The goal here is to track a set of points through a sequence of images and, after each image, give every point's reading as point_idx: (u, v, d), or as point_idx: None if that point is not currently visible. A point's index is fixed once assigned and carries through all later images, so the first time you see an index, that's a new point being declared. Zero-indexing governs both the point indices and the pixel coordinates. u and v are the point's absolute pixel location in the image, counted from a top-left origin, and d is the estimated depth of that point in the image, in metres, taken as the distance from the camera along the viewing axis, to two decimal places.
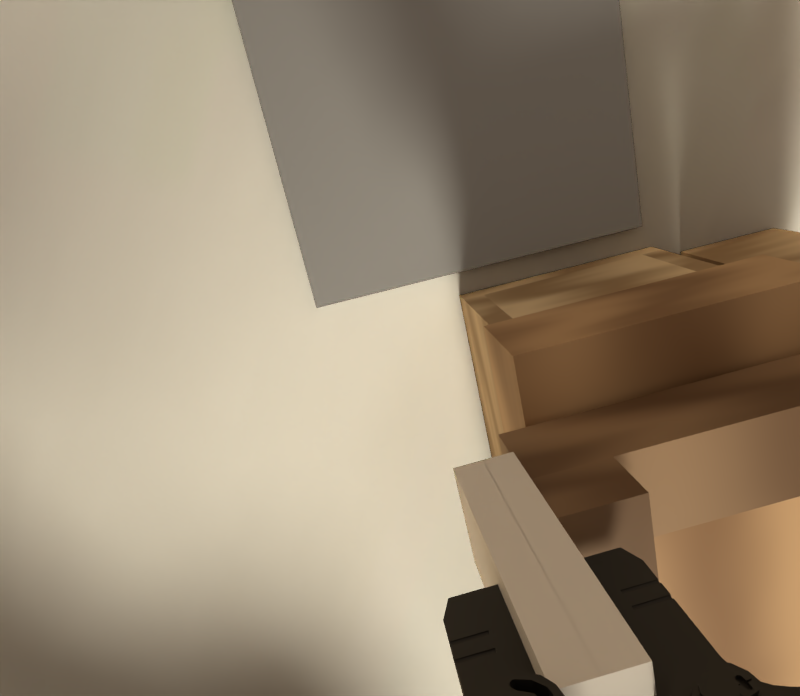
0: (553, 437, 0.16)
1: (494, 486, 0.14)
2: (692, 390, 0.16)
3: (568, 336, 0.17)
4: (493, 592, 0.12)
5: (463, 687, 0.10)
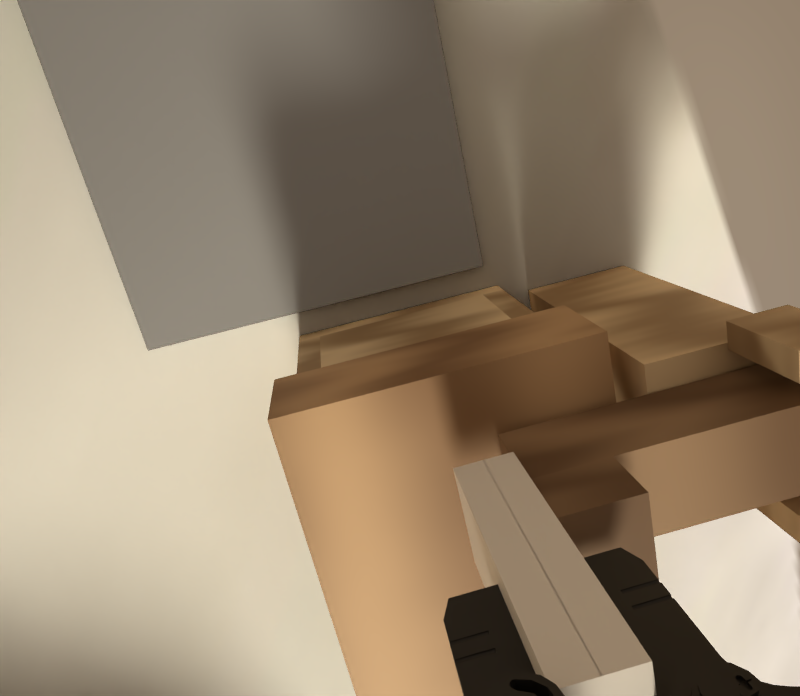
0: (553, 437, 0.16)
1: (494, 486, 0.14)
2: (692, 389, 0.16)
3: (330, 398, 0.17)
4: (493, 592, 0.12)
5: (463, 687, 0.10)
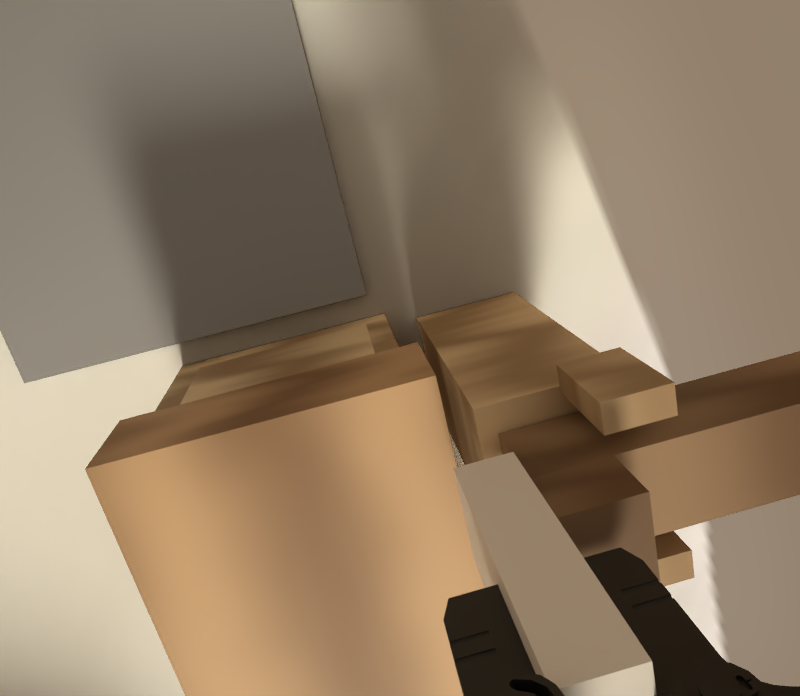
0: (553, 436, 0.16)
1: (494, 486, 0.14)
2: (693, 387, 0.16)
3: (154, 445, 0.16)
4: (493, 592, 0.12)
5: (463, 687, 0.10)
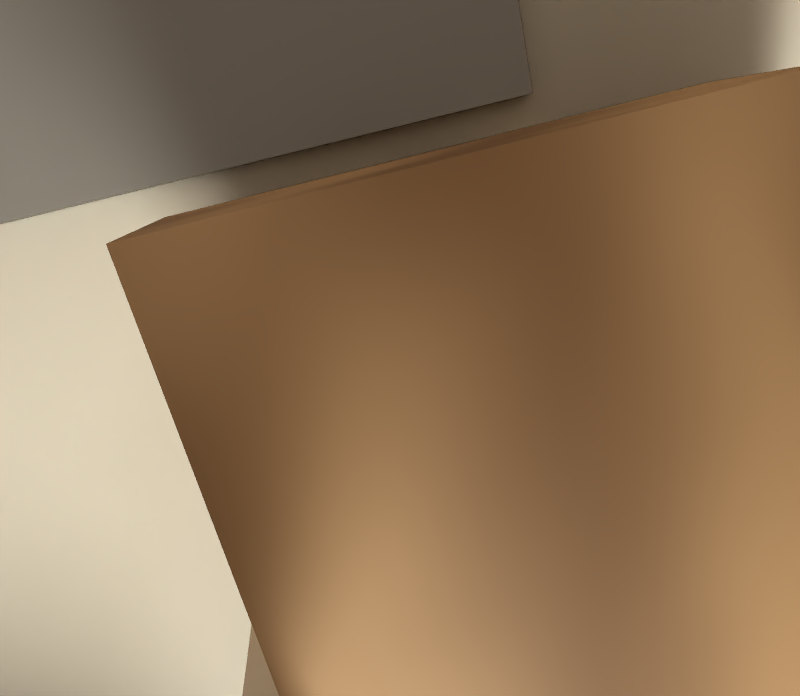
0: None
1: None
2: None
3: (251, 205, 0.08)
4: None
5: None
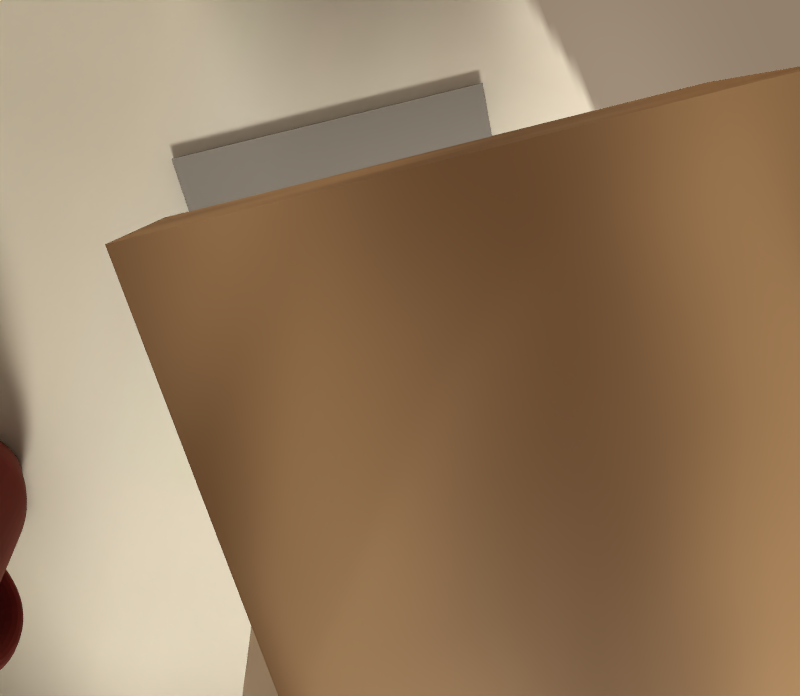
0: None
1: None
2: None
3: (251, 206, 0.08)
4: None
5: None
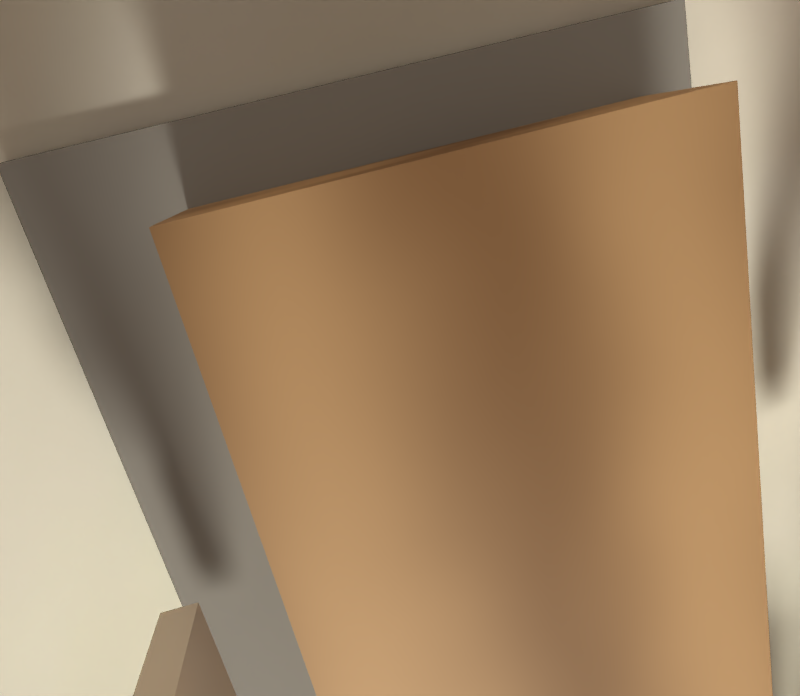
0: None
1: None
2: None
3: (262, 197, 0.10)
4: None
5: None
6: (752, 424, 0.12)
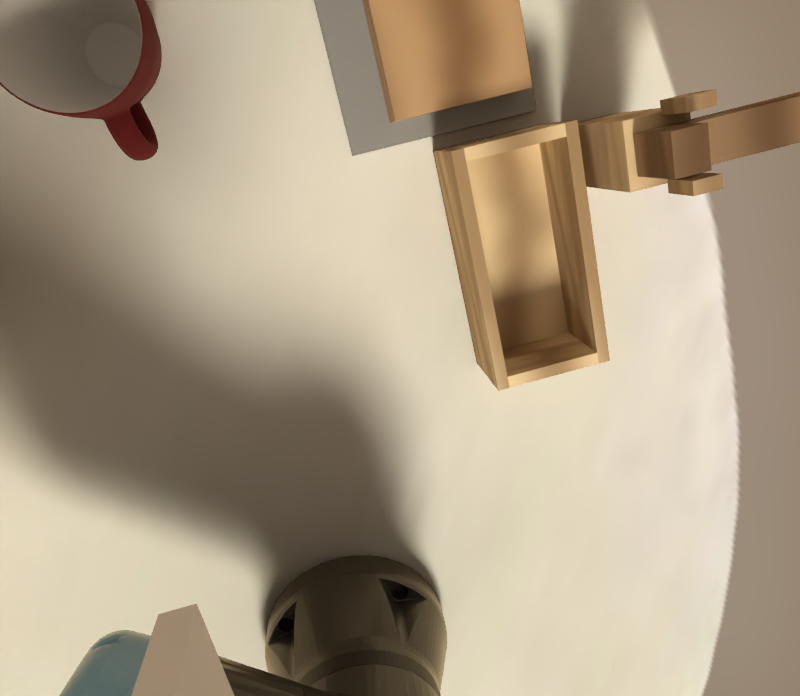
0: (660, 128, 0.35)
1: None
2: (721, 112, 0.36)
3: None
4: None
5: None
6: None
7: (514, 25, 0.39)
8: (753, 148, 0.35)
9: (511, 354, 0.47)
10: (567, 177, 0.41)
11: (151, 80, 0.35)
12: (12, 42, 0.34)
